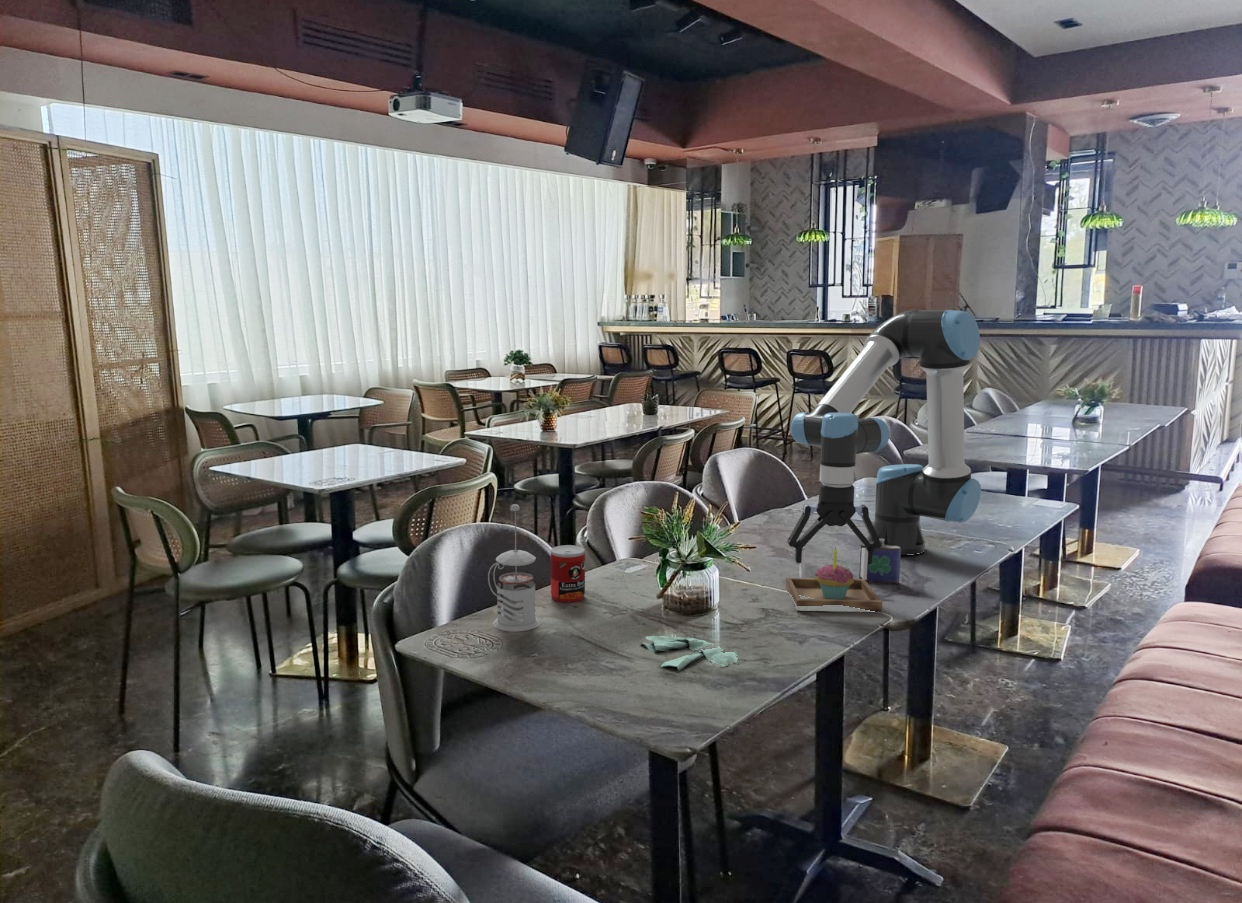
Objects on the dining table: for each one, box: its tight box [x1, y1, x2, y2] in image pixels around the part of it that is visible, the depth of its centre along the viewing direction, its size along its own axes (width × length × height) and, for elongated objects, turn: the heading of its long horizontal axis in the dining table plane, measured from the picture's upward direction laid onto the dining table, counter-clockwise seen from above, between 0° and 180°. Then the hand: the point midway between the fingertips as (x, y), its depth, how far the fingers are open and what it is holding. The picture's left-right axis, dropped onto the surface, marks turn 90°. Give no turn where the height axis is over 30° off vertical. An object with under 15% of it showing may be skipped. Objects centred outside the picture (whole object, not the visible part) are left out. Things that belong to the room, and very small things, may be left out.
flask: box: [858, 538, 902, 585], centre depth 207 cm, size 9×3×11 cm, turn 74°
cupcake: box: [814, 546, 855, 600], centre depth 193 cm, size 9×8×12 cm
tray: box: [785, 577, 883, 613], centre depth 194 cm, size 18×16×2 cm
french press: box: [487, 503, 541, 632], centre depth 177 cm, size 10×12×25 cm
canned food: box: [550, 544, 586, 603], centre depth 195 cm, size 8×8×11 cm
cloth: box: [639, 635, 738, 672], centre depth 163 cm, size 20×22×2 cm
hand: (832, 577), depth 193 cm, fingers open, 13 cm apart
